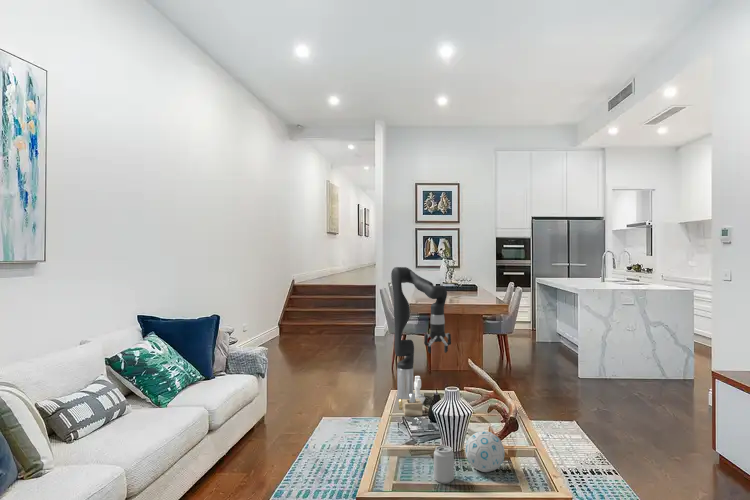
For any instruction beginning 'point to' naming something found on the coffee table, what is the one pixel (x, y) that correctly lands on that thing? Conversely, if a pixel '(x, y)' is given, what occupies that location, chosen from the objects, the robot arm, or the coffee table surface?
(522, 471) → the coffee table surface
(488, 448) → the puzzle ball
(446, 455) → the can
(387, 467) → the coffee table surface
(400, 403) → the short pin
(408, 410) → the hole block
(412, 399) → the long pin
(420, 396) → the figurine
